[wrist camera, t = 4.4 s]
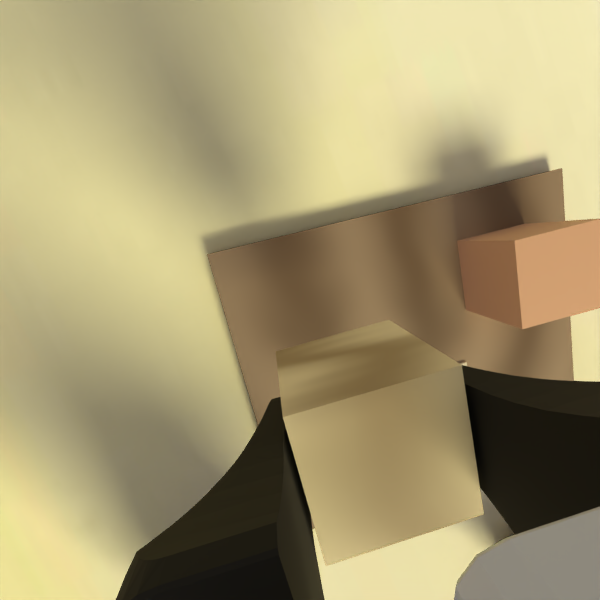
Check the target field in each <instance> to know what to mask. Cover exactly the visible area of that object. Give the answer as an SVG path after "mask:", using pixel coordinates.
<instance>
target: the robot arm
mask: <svg viewBox="0 0 600 600" xmlns="http://www.w3.org/2000/svg"><path fill="white" fill-rule="evenodd" d="M462 370H463V377H464V384H465V391H466V397H467V404H468V411H469V417H470V424H471V431H472V438H473V444H474V451H475V458H476V464H477V471H478V478H479V484H480V488H481V489H482V490H483V491H484V493H485V494H486V495H487V497H488V498H489V499H490V501H491V502H492V503H493V505H494V506H495V507H496V509H497V510H498V511H499V513H500V514H501V515H502V517H503V518H504V519H505V521H506V522H507V523H508V525H509V526H510V528H511V529H512V530H513V532H514V533H515V535H513V536H510V537H507V538H504V539H503V540H501V541H499V542H498V543H496V544H494V545H492V546H491V547H489V548H487V549H486V550H484V551H482V552H480V553H479V554H477V555H476V556H475V557H474V559H473V560H472V562H471V563H470V564H469V566H468V567H467V568H466V570H465V571H464V572H463V574H462V575H461V577H460V578H459V579H458V581H457V585H456V590H455V597H454V600H600V382H585V381H565V380H550V379H539V378H530V377H522V376H515V375H508V374H502V373H497V372H492V371H486V370H482V369H477V368H472V367H468V366H464V365H462ZM116 600H324V595H323V590H322V584H321V579H320V574H319V568H318V563H317V557H316V552H315V546H314V539H313V531H312V520H311V513H310V510H309V506H308V503H307V499H306V496H305V492H304V489H303V485H302V482H301V479H300V475H299V472H298V468H297V465H296V461H295V458H294V454H293V451H292V447H291V444H290V441H289V437H288V434H287V430H286V427H285V423H284V420H283V415H282V406H281V397H277V398H274V399H271V401H270V402H269V404H268V406H267V409H266V411H265V413H264V415H263V417H262V419H261V421H260V423H259V425H258V427H257V429H256V431H255V432H254V434H253V436H252V438H251V439H250V441H249V443H248V444H247V446H246V447H245V449H244V451H243V452H242V454H241V455H240V456H239V458H238V459H237V460H236V462H235V463H234V464H233V465H232V467H231V468H230V469H229V470H228V472H227V473H226V474H225V475H224V476H223V477H222V478H221V479H220V480H219V482H218V483H217V484H216V485H215V486H214V487H213V488H212V489H211V490H210V491H209V492H208V493H207V494H206V495H205V496H204V497H203V498H202V499H201V500H200V501H199V502H198V503H197V504H196V505H195V506H194V507H193V508H191V509H190V510H189V511H188V512H187V513H186V514H185V515H184V516H182V517H181V518H180V519H179V520H178V521H176V522H175V523H174V524H173V525H172V526H170V527H169V528H168V529H166V530H165V531H164V532H162V533H161V534H160V535H159V536H157V537H156V538H155V539H153V540H152V541H151V542H149V543H148V544H147V545H145V546H144V547H143V548H141V549H140V550H138V551H137V552H136V554H135V556H134V559H133V561H132V563H131V565H130V567H129V569H128V571H127V574H126V576H125V578H124V581H123V583H122V586H121V588H120V591H119V593H118V596H117V598H116Z"/></svg>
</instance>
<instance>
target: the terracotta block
mask: <svg viewBox="0 0 600 600" xmlns="http://www.w3.org/2000/svg"><path fill="white" fill-rule="evenodd" d="M457 245H458V253H459V260H460V268H461V276H462V284H463V292H464V300H465V307H466V310H467V311H470V312H473V313H476V314H479V315H482V316H485V317H488V318H491V319H494V320H497V321H500V322H503V323H505V324H508V325H511V326H514V327H517V328H520V329H525V328H529V327H533V326H536V325H540V324H544V323H547V322H551V321H554V320H558V319H562V318H565V317H569V316H572V315H576V314H580V313H583V312H587V311H590V310H594V309H598V308H600V219H588V220H573V221H558V222H543V223H528V224H521V225H517V226H513V227H510V228H506V229H502V230H498V231H494V232H490V233H486V234H482V235H478V236H474V237H470V238H466V239H462V240H458V241H457Z"/></svg>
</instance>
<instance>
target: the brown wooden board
mask: <svg viewBox="0 0 600 600" xmlns="http://www.w3.org/2000/svg"><path fill="white" fill-rule="evenodd" d="M558 221H565V212H564V194H563V176H562V168H561V169H557V170H553V171H548V172H544V173H540V174H536V175H532V176H528V177H524V178H520V179H515V180H511V181H507V182H503V183H499V184H495V185H491V186H487V187H483V188H478V189H474V190H470V191H466V192H462V193H458V194H454V195H450V196H445V197H441V198H437V199H433V200H429V201H425V202H421V203H417V204H412V205H408V206H404V207H400V208H396V209H392V210H388V211H384V212H379V213H375V214H371V215H367V216H363V217H359V218H355V219H351V220H346V221H342V222H338V223H334V224H330V225H326V226H322V227H318V228H313V229H309V230H305V231H301V232H297V233H293V234H289V235H285V236H281V237H276V238H272V239H268V240H264V241H260V242H256V243H252V244H248V245H243V246H239V247H235V248H231V249H227V250H223V251H219V252H215V253H210V254H207V256H208V259H209V262H210V266H211V269H212V272H213V276H214V279H215V282H216V286H217V289H218V292H219V296H220V299H221V302H222V306H223V309H224V313H225V316H226V319H227V323H228V326H229V329H230V333H231V336H232V339H233V343H234V346H235V349H236V353H237V356H238V360H239V363H240V366H241V370H242V373H243V376H244V380H245V383H246V386H247V390H248V393H249V396H250V400H251V403H252V407H253V410H254V413H255V417H256V420H257V423H258V425H259V423H260V421H261V419H262V417H263V415H264V413H265V411H266V409H267V406H268V404H269V402H270V401H271V399H274V398H277V397H280V387H279V378H278V369H277V360H276V351H279V350H282V349H286V348H290V347H293V346H297V345H300V344H304V343H307V342H311V341H315V340H318V339H322V338H325V337H329V336H333V335H336V334H340V333H343V332H347V331H351V330H354V329H358V328H361V327H365V326H369V325H372V324H376V323H379V322H383V321H387V320H390V321H392V322H393V323H395V324H397V325H398V326H400V327H401V328H403V329H405V330H406V331H408V332H409V333H411V334H413V335H414V336H416V337H417V338H419V339H421V340H422V341H424V342H426V343H427V344H429V345H430V346H432V347H434V348H435V349H437V350H438V351H440V352H442V353H443V354H445V355H446V356H448V357H450V358H451V359H453V360H455V361H456V362H458V363H459V364H461V365H464V366H468V367H472V368H477V369H482V370H486V371H492V372H497V373H502V374H508V375H515V376H522V377H530V378H539V379H550V380H565V381H574V377H573V359H572V340H571V322H570V316H569V317H565V318H562V319H558V320H554V321H551V322H547V323H544V324H540V325H536V326H533V327H529V328H525V329H520V328H517V327H514V326H511V325H508V324H505V323H503V322H500V321H497V320H494V319H491V318H488V317H485V316H482V315H479V314H476V313H473V312H470V311H467V310H466V307H465V300H464V292H463V284H462V276H461V268H460V260H459V253H458V245H457V241H458V240H462V239H466V238H470V237H474V236H478V235H482V234H486V233H490V232H494V231H498V230H502V229H506V228H510V227H513V226H517V225H521V224H528V223H543V222H558ZM311 520H312V516H311ZM314 528H315V527H314V523H313V520H312V529H314Z"/></svg>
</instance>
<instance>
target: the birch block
mask: <svg viewBox="0 0 600 600" xmlns="http://www.w3.org/2000/svg"><path fill="white" fill-rule="evenodd" d="M276 360H277V369H278V378H279V387H280V397H281V406H282V415H283V420H284V423H285V427H286V430H287V434H288V437H289V441H290V444H291V447H292V451H293V454H294V458H295V461H296V465H297V468H298V472H299V475H300V479H301V482H302V485H303V489H304V492H305V496H306V499H307V503H308V506H309V510H310V513H311V516H312V520H313V523H314V527H315V530H316V534H317V537H318V541H319V544H320V547H321V551H322V554H323V558H324V561H325V565H326V566H328V565H331V564H334V563H337V562H340V561H343V560H346V559H349V558H352V557H355V556H358V555H361V554H364V553H367V552H371V551H374V550H377V549H380V548H383V547H386V546H389V545H392V544H395V543H398V542H401V541H404V540H407V539H410V538H413V537H416V536H419V535H422V534H425V533H429V532H432V531H435V530H438V529H441V528H444V527H447V526H450V525H453V524H456V523H459V522H462V521H465V520H468V519H471V518H474V517H477V516H480V515H483V514H484V511H483V505H482V498H481V491H480V484H479V478H478V471H477V464H476V458H475V451H474V444H473V438H472V431H471V424H470V417H469V411H468V404H467V397H466V391H465V384H464V377H463V370H462V365H461V364H459V363H458V362H456V361H455V360H453V359H451V358H450V357H448V356H446V355H445V354H443V353H442V352H440V351H438V350H437V349H435V348H434V347H432V346H430V345H429V344H427V343H426V342H424V341H422V340H421V339H419V338H417V337H416V336H414V335H413V334H411V333H409V332H408V331H406V330H405V329H403V328H401V327H400V326H398V325H397V324H395V323H393V322H392V321H390V320H387V321H383V322H379V323H376V324H372V325H369V326H365V327H361V328H358V329H354V330H351V331H347V332H343V333H340V334H336V335H333V336H329V337H325V338H322V339H318V340H315V341H311V342H307V343H304V344H300V345H297V346H293V347H290V348H286V349H282V350H279V351H276Z"/></svg>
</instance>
